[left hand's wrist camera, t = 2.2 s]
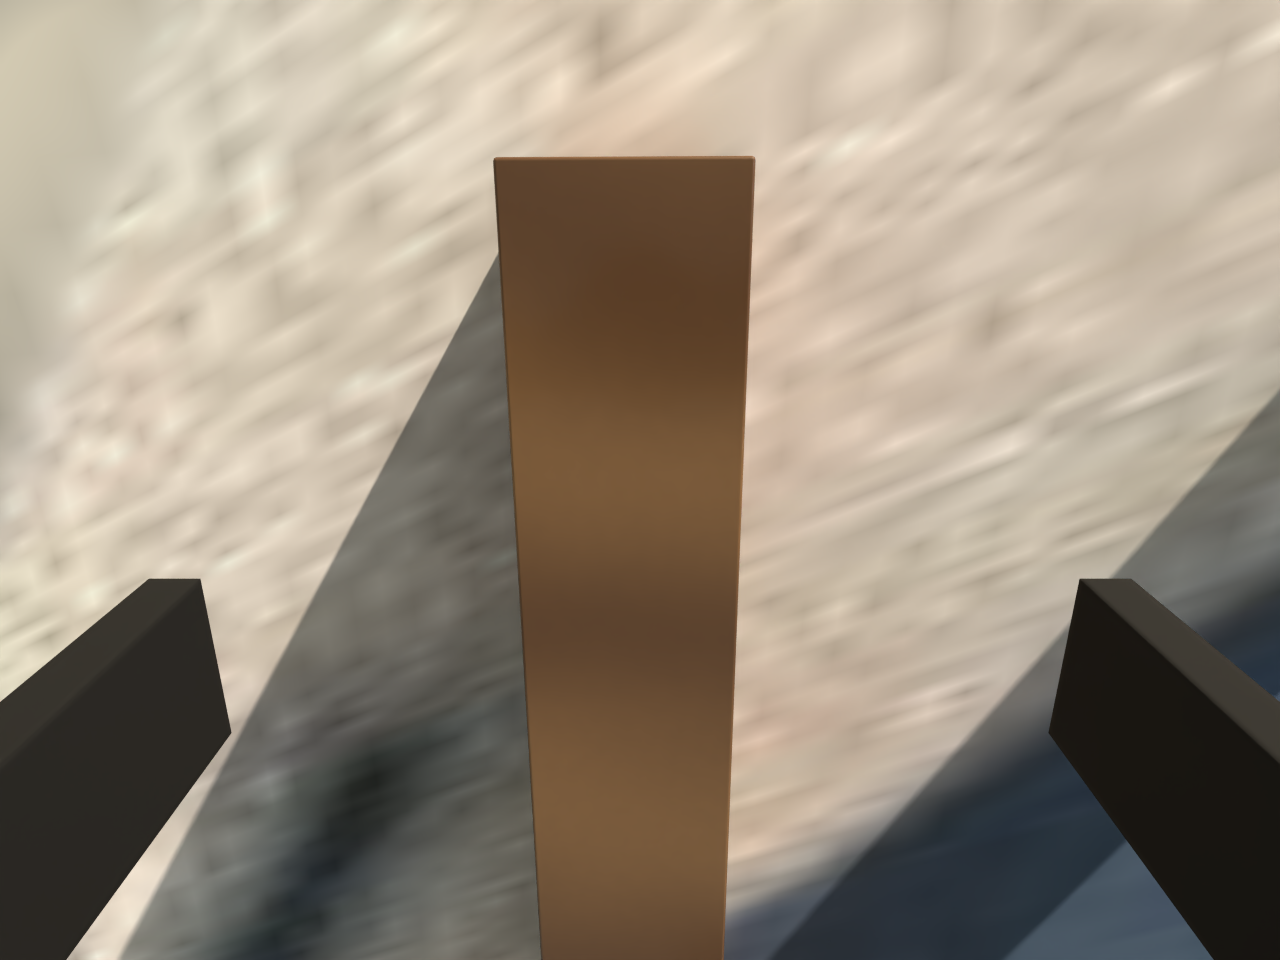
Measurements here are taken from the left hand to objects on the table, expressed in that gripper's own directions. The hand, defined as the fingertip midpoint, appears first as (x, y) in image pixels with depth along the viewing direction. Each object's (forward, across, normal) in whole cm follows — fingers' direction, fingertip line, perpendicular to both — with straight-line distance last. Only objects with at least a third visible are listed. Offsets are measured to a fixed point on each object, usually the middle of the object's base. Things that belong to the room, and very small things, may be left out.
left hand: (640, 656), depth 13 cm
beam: (+13, 0, -31) cm, 34 cm away
